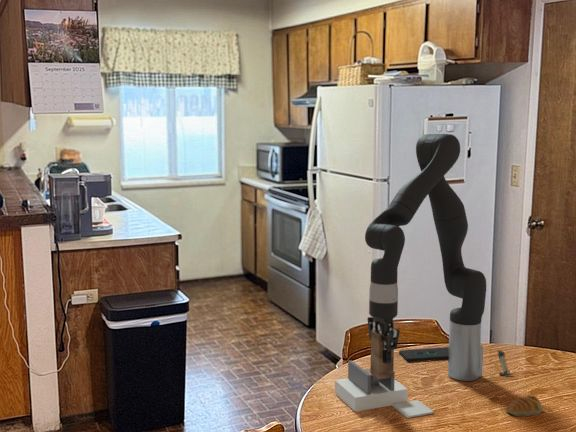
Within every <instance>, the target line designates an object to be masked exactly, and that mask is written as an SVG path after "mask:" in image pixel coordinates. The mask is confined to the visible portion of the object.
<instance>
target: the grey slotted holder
mask: <svg viewBox="0 0 576 432" xmlns="http://www.w3.org/2000/svg"><path fill="white" fill-rule="evenodd" d="M347 362H348V363H347V378H345V377H344V378H341V379H335V380H334V394H335V395H336V396H337V397H338V398H339V399H341V401H342V402H344V403H345V404H346V405H347V406H348V407H349V408H350V409H351V410H353V412H362V411H363V412H364V411H367V410H368V411H369V410H373V409H378V408H385V407H391V406H392V404H398V403H404V402H408V395H409V394H408V391H409V390H408V388H407V387H405V386H404V385H403V384H402V383H400V382H399V381H397V380H396V379H395V370H393V377H389V378H386V379H380V380H371V375H370V374H369V373H368V372H366V371H365V370H366V369H364V368H362V367H361V366H360V365H358V364H357V363H356V362H355V361H353V360H348V361H347Z"/></svg>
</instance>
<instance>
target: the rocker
mask: <svg viewBox="0 0 576 432" xmlns="http://www.w3.org/2000/svg"><path fill="white" fill-rule="evenodd" d="M364 370H365V371H366V372H368V373H369V374H370V375H371V380H380V379H377V378H376V377H375V376H373V375H372V374H371V373H370V370H371V369H364ZM383 379H386V378H383Z"/></svg>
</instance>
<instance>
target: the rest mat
mask: <svg viewBox="0 0 576 432" xmlns="http://www.w3.org/2000/svg"><path fill="white" fill-rule="evenodd" d="M391 406H392V408H394V409H395V410H396V411H398V412H399V413H400V414H401V415H402V416H404V417H405V418H406V419H410V418H417V417H423V416H427V415H433V414H434V413H435V412H434V410H432V409H431V408H429V407H428V406H427V405H425V404H424V403H422V402H421V401H420V400H417V399H416V400H412V401H411V400H410V401H407V402H404V403H398V404H392V405H391Z"/></svg>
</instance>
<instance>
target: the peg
mask: <svg viewBox="0 0 576 432" xmlns="http://www.w3.org/2000/svg"><path fill="white" fill-rule="evenodd" d="M383 336H384V335H383ZM384 338H388V336H384ZM386 346H387V341H386ZM394 358H395V349H393V350H392V351H391V363H387V364H384V363H383V342H382V341H381V335H380V334H379V332H377V331H373V330H372V331H371V339H370V369H369V370H370V373H371V374H372V375H373V376H375V377H376V378H377V379H383V378H389V377H393V371H394V364H395V363H394Z"/></svg>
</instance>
